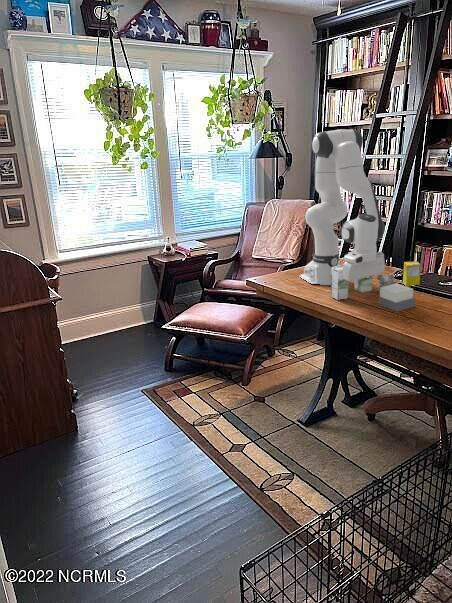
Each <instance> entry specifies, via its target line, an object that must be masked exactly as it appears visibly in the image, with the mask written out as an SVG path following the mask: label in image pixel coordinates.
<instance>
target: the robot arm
mask: <svg viewBox="0 0 452 603" xmlns="http://www.w3.org/2000/svg"><path fill="white" fill-rule="evenodd" d="M363 140H364V139H363V135H362V133H361V131H359V130H358V129H354V128H350V129H345V128H344V129H342V128H341V129H335V130H328V131H320V132H317V133H315V135H314V136H313V138H312V141H311V147H312V148H311V149H312V153H313V154H314V155H315V156H316V161H315V173H314V175H315V178H314V180H315V181H314V182H315V183H314V184H315V188H314V189H315V191H316V192H317V193H318V194H319V198H320V203H316V204H314V205H312V206H311V207H309V208H308V209H307V210H306V212H305V215H304V218H305V222H306V224H307V225H308V226H309V227H310V228H311V230H312V233H313V237H314V253H311V257H312V260H311V261H310V262H308V263H307V264H306V265H305V266H304V268H303V273H302V274H300V275H299V278H300V277H301V278H302V279H301V278H300V279H301V280H303V279H304V280H306V281H307V282H306V281H305V282H306V283H308V282H309V283H311V284H320V285H319V286H331V269H332V267H334V266H340V262H339V261H340V253H339V236H338V235H337V234H336V233H335V231H334V227H333V225H334V224H337V223H340V222H341V221H342V220H343V219H344V218H346V217H347V215H348V206H347V204H346V203H345V202H344V200H343V197H342V194H341V188H342V190H344V191H347V192H350V193H352V194H355V195H358V196H359V198H361V199H362V202H363V204H364V209H365V214H360V215H358V216H357V217H356V218H354V219H350V220H346V221H345V222H344V223H343V224H342V226H341V228H340V236H341V239H342V240H343V241H344V242H345V243H349V244H354V247H353V250H351V251H350V252H349V253H346V254H344V257H343V261H344V263H343V264H342V265H343V271H342V277H343V278H344V279H345V280H348V281H349V282H350V281H352V282H353V283H354V287H355V288H360V284H358V281H359V278H363V277H367V278H370V279H372V282H373V280H374V279H375V276H376V275H379V274H383V273H384V272H385V271H386V270H385V267H386V266H385V264H386V262H385V254H384V252H382V251H378V252H377V242H379V240H381V239H382V237H383V236H384V234H385V232H386V227H385V224H384V220H383V219H382V216H381V212H380V208H379V204H378V201H377V200H378V199H377V196H376V193H375V188H374V185H373V183H372V181H371V180H370V179H368V178H367V176H366V173H365V171H364V170H365V169H364V163H363V162H364V161H363V157H362V156H363V155H362V153H361V152H362V151H361V149H362V147H363V142H364V141H363ZM304 280H303V281H304ZM309 283H308V284H309ZM311 284H310V285H311Z"/></svg>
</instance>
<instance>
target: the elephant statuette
mask: <svg viewBox="0 0 452 603" xmlns="http://www.w3.org/2000/svg"><path fill="white" fill-rule="evenodd" d="M394 278H395V274H393V273H390V274H382V273H380V274H377V276H376V280H378V281H379V282H378V283H379V286H378V288H377V291H378V294H379V295H380V288H381V287H385V286H388V285H392V284H396V283H397V284H398V281H397V280H396V279H394Z"/></svg>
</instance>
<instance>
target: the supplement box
mask: <svg viewBox="0 0 452 603" xmlns="http://www.w3.org/2000/svg"><path fill="white" fill-rule="evenodd" d="M421 266H422V265H421V264H420V263H419V262H418V261H404V262H403V278H402V284H403V283H404V285H405V286H406V287H409V288H411V286H412V285H419V286H420V281H421V268H422V267H421ZM404 285H403V286H404Z"/></svg>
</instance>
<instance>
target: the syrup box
mask: <svg viewBox="0 0 452 603" xmlns="http://www.w3.org/2000/svg"><path fill="white" fill-rule="evenodd" d="M342 271H343V264H341V265H340V266H334V267H332V269H331V285H330V298H332V297H333V298H335V299H337V300H339V299H344V300H347V299H346V298H348V299H349V294H350V293H349V292H350V281H348V280H345V279H344V278H343V277H342ZM333 298H332V299H333ZM335 299H334V300H335ZM337 300H336V301H337ZM339 301H340V300H339Z"/></svg>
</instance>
